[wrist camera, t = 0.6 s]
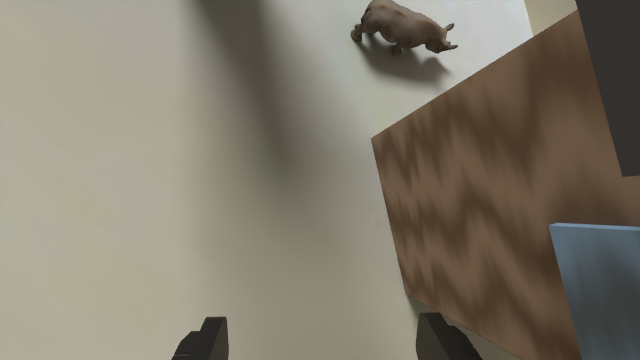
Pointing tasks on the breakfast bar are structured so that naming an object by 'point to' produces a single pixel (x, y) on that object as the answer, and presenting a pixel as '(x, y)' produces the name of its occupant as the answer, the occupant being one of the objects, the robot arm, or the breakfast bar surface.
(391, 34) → the rhino figurine
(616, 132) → the dark gray rectangular panel
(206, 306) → the breakfast bar surface
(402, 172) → the cabinet
